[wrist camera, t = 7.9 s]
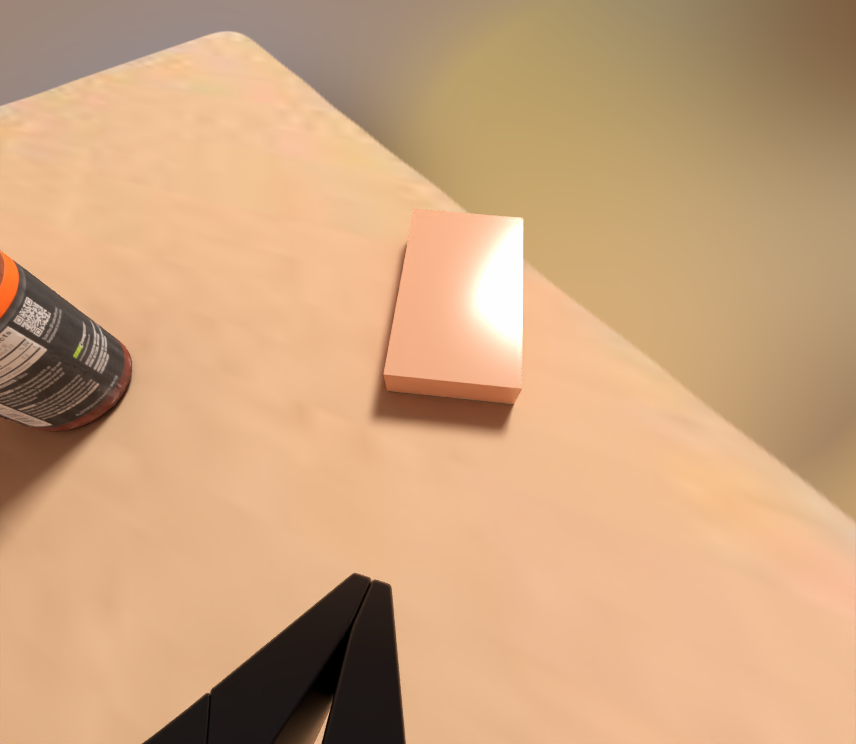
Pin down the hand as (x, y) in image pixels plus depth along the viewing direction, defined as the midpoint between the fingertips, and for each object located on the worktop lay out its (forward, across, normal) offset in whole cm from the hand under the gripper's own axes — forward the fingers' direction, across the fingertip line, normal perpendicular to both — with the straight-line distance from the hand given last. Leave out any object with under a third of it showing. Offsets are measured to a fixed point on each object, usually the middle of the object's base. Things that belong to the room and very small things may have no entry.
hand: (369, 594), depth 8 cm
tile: (+14, 0, 0) cm, 14 cm away
